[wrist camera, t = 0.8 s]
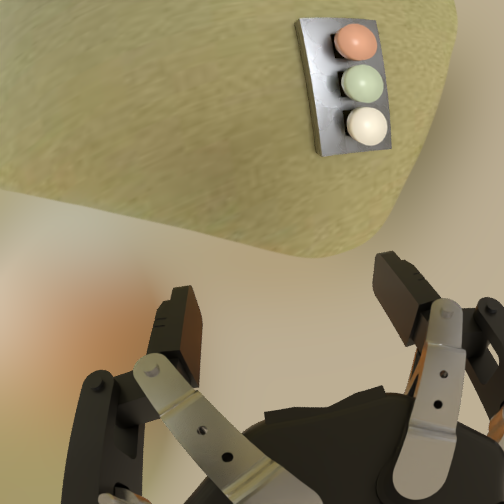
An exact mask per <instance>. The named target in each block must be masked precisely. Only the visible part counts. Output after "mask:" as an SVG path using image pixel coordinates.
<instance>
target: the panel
mask: <svg viewBox="0 0 504 504" xmlns="http://www.w3.org/2000/svg"><path fill="white" fill-rule="evenodd" d="M349 24H360V25H363V26H365V27H367V28H368V29H369V30H370V31H371V32H372V33H373V34H374V36H375V38H376V41H377V50H376V53H375V54H374V56H373V57H371V58H370V59H367V60H361V61H351V60H348V59H346V58H337V59H335V56H334V51H333V46H332V41H331V37H335V34H336V33H337V31H338V30H339V29H341V28H343V27H345V26H347V25H349ZM295 28H296V32H297V37H298V42H299V47H300V52H301V57H302V63H303V68H304V74H305V79H306V85H307V91H308V98H309V104H310V111H311V118H312V125H313V132H314V140H315V148H316V153H318V154H319V155H320V156H322V157H323V156H331V155H338V154H347V153H355V152H364V151H374V150H385V149H392V146H391V127H390V113H389V102H388V92H387V84H386V76H385V69H384V62H383V56H382V50H381V44H380V39H379V34H378V29H377V24H376V20H366V19H352V18H299V19H298V20H297V21H296V22H295ZM356 65H368V66H371V67H373V68H374V69H375V70H377V71H378V73H379V74H380V76H381V78H382V80H383V92H382V94H381V96H380V97H379V99H377V100H376V101H374V102H371V103H364V102H357V101H354V100H352V99H350V98H349V97H348V96H341V94H340V87H339V81H338V74H337V72H345V70H346V69H348V68H349V67H351V66H356ZM362 106H363V107H370V108H375V109H377V110H379V111H380V112H381V113H382V114H383V115H384V117H385V119H386V121H387V133H386V136H385V138H384V139H383V140H382V141H381V142H380V143H379V144H376V145H373V146H368V145H365V144H362V143H360V142H358V141H356V140H354V139H353V138H352V137H351V136H350V134H349V132H346V133H345V127H344V118H343V110H354V109H355V108H357V107H362Z"/></svg>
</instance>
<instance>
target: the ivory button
mask: <svg viewBox="0 0 504 504" xmlns="http://www.w3.org/2000/svg"><path fill="white" fill-rule="evenodd" d="M346 125H347V129H348V132H349V134H350V136H351V137H352V138H353V139H354V140H356V141H358V142H360V143H362V144H365V145H368V146H373V145H376V144H379V143H380V142H381V141H382V140H383V139H384V138H385V136H386V133H387V121H386V119H385V117H384V115H383V114H382V113H381V112H380V111H379V110H377V109H375V108H370V107H363V106H362V107H357V108H355V109H354V110H353V111H352V112H351V113H350V114H349V115H348V117H347V119H346Z"/></svg>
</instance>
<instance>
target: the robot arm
mask: <svg viewBox="0 0 504 504" xmlns="http://www.w3.org/2000/svg"><path fill="white" fill-rule="evenodd" d="M373 291H374V294H375V296H376V297H377V299H378V301H379V302H380V304H381V305H382V307H383V309H384V310H385V312H386V314H387V315H388V317H389V319H390V320H391V322H392V324H393V326H394V327H395V329H396V331H397V332H398V334H399V336H400V338H401V339H402V341H403V343H404V345H405V346H406V347H408V346H411V345H413V344H415V345H416V347H417V349H416V352H415V356H414V360H413V364H412V368H411V372H410V376H409V379H408V383H407V386H406V389H405V392H404V394H399V393H385V391H384V388H383V386H382V385H381V386H378V387H375V388H372V389H368V390H365V391H361V392H358V393H355V394H353V395H351V396H349V397H347V398H345V399H343V400H341V401H340V402H338V403H335V404H333V405H331V406H329V407H324V408H322V407H321V408H319V407H315V408H314V407H311V408H310V407H292V408H287V409H281V410H275V411H268V412H264V415H265V420H263V421H261V422H258V423H256V424H254V425H252V426H251V427H249V428H248V429H246V430H245V431H244V432H243V433H240V432H239V431H238V430H237V429H236V428H235V427H234V426H233V425H232V424H231V423H230V422H229V421H228V420H227V419H226V418H225V417H224V416H223V415H222V414H221V413H220V412H218V410H217V409H216V408H215V407H214V406H213V405H212V404H211V403H210V402H209V401H208V400H207V399H206V398H205V397H204V396H203V395H202V394H201V393H200V392H199V391H198V390H196V391H195V390H194V389H193V388H197V387H199V379H200V359H201V343H202V327H203V323H202V316H201V312H200V309H199V306H198V303H197V300H196V297H195V294H194V291H193V288H192V286H191V285H189V286H182V287H175V288H173V290H172V295H171V299H170V300H168V301H163V303H162V304H161V305H160V307H159V308H158V309H157V312H156V316H155V321H154V324H153V328H152V332H151V337H150V341H149V345H148V349H147V354H146V355H145V356H143V357H142V358H140V359H139V360H138V361H137V362H136V364H135V366H134V368H133V370H132V371H130V372H127V373H125V374H121V375H118V376H115V377H113V376H112V375H111V373H110V372H108V371H106V370H98V371H95V372H93V373H91V374H90V375H88V376H87V378H86V379H85V381H84V382H83V385H82V389H81V393H80V397H79V401H78V405H77V409H76V413H75V418H74V423H73V428H72V432H71V437H70V442H69V448H68V454H67V459H66V466H65V473H64V480H63V488H62V499H61V504H152V503H151V502H150V501H149V500H148V499H146V498H144V497H142V470H143V468H142V467H143V446H144V430H145V423H147V422H149V421H153V420H156V419H160V418H161V419H162V421H163V422H164V423H165V424H166V426H167V427H168V428H169V430H170V431H171V433H172V434H173V435H174V437H175V438H176V439H177V440H178V442H179V443H180V444H181V445H182V447H183V448H184V449H185V450H186V451H187V452H188V454H189V455H190V456H191V457H192V459H193V460H194V461H195V462H196V463H197V464H198V466H199V467H200V468H201V469H202V470H203V471H204V472H205V473H206V475H207V477H206V478H205V479H204V480H203V482H202V483H201V484H200V486H198V488H197V489H196V490H195V491H194V492H193V493H192V495H191V496H190V497H189V498H188V500H186V502H185V503H184V504H504V307H503V306H502V305H501V304H500V302H498V301H497V300H495V299H493V298H490V297H485V298H482V299H480V300H479V302H478V304H477V306H476V308H464V309H463V308H461V307H460V305H459V304H458V303H456V302H455V301H453V300H450V299H446V298H441V297H440V296H439V295H438V294H437V292H436V291H435V290H434V289H433V287H432V286H431V285H430V284H429V283H428V281H427V280H425V278H424V277H423V275H422V274H420V272H419V271H418V270H417V269H416V267H415V266H414V265H412V264H411V263H409V262H407V261H406V260H401V259H400V258H399V257H398V256H397V255H396V253H395V252H393V251H389V252H383V253H378V254H377V255H376V257H375V264H374V274H373ZM490 343H491V345H492V347H493V348H494V350H495V351H496V353H497V355H498V357H499V366H498V364H497V363H496V361H495V359H494V358H493V356H492V354H491V353H490V351H489V349H488V345H489V344H490ZM465 370H466V372H467V374H468V376H469V378H470V380H471V382H472V384H473V386H474V388H475V390H476V392H477V394H478V396H479V398H480V400H481V402H482V404H483V406H484V408H485V411H486V413H487V415H488V417H489V420H490V423H489V432H488V434H487V436H486V435H484V434H481V433H480V432H478V431H476V430H474V429H472V428H470V427H468V426H466V425H464V424H462V423H460V422H458V421H457V420H458V415H459V409H460V403H461V397H462V389H463V382H464V372H465Z"/></svg>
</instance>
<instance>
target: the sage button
mask: <svg viewBox="0 0 504 504" xmlns="http://www.w3.org/2000/svg"><path fill="white" fill-rule="evenodd" d="M341 86H342V88H343V90H344V92H345V94H346V95H347V96H348V97H349V98H350V99H352V100H354V101H357V102H364V103H371V102H374V101H376V100H377V99H379V97H380V96H381V94H382V92H383V80H382V78H381V76H380V74H379V73H378V71H377V70H375V69H374V68H373V67H371V66H368V65H356V66H351V67H349V68H348V69H346V70H345V72H344V73H343V75H342V79H341Z"/></svg>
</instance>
